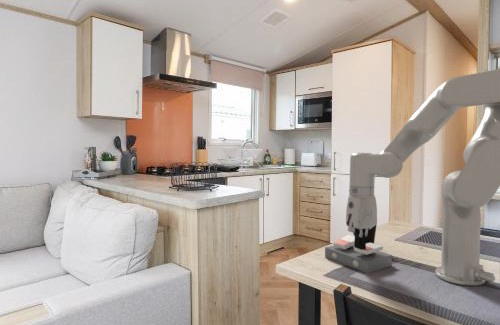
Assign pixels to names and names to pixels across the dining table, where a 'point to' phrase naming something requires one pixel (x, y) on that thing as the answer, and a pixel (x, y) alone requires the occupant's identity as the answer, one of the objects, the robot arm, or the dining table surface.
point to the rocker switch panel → (359, 258)
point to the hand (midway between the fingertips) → (360, 248)
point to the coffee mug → (371, 235)
